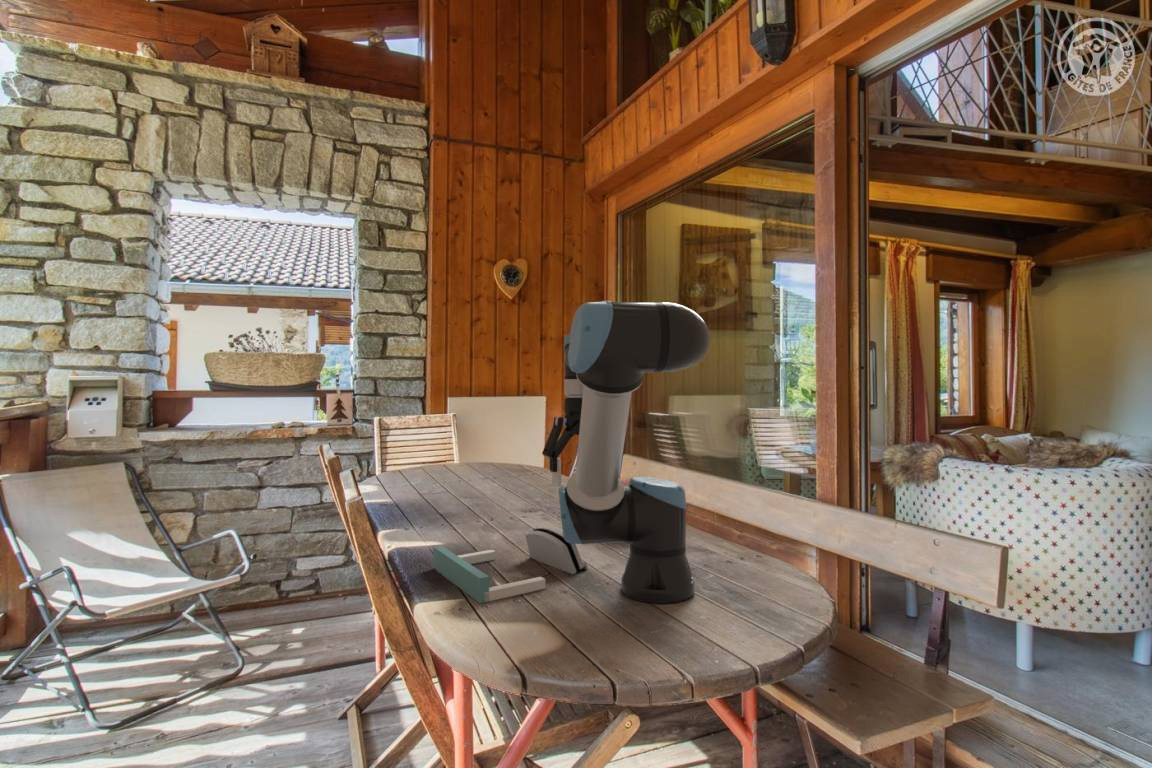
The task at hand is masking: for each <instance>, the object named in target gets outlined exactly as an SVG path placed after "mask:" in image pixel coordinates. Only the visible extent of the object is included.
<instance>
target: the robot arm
mask: <svg viewBox="0 0 1152 768" xmlns="http://www.w3.org/2000/svg"><path fill="white" fill-rule="evenodd" d="M563 343H564V344H563V352H564V355H563V357H564V359H563V360H564V363H563V364H564V377H563V379H564V384H563V385H564V388H563V389H564V396H566V397H565V398H564V399H563V400H564V401H563V404H564V405H563V406H564V407H563V408H564V414H565V415H564V417H562V416H555V417H553V426H552V427H551V430H550V433H549V435H548V438H547V440H546V443H545V446H544V447H543V450H542V456H544V457H547V458H549V471H550V473H551V472H552V475H551V477H552V478H551V479H552V486H556V487H558V499H559V509H560V517H561V518H560V519H561V526H562V527H561V528H562V532H563V537H564V539H565V541H566V542H568V543H571V544H576V545H593V544H596V545H597V544H614V543H615V544H616V543H618V544H619V543H629V553H628V554H629V555H628V556H627V560H626V564H625V569H624V573H623V574H622V576H621V582H620V583H621V585H620V586H621V591H622V594H624V595H626V596H627V597H628V596H629V598H630V597H631V599H633V598H634V599H633V600H637V601H639V600H640V602H644V603H650V602H651V603H652V604H669V603H668V602H675V603H678V602H677V601H680V602H683V601H682V600H684V601H686V600H685V599H687V598H689V599H691V598H692V597H693V596H694V595H695V581H694V579H695V578H694V577H693V576H692V572H691V568H690V564H689V561H688V558H687V553H686V551H687V550H686V548H687V547H686V546H687V544H686V543H687V539H686V537H687V530H686V529H687V509H688V507H687V499H686V491H685V488H684V487H683V486H682V485H681V484H679V483H677V482H674V481H671V480H666V479H662V478H655V477H648V476H633V477H631V478H629V479H630V481H629V484H630V485H623V483H622V482H623V481H622V480H621V479H620V473H621V467H622V459H623V454H624V448H625V441H626V433H627V428H628V427H627V426H628V421H629V415H630V414H629V413H630V407H631V400H632V396H633V395H632V393H633V392H635V391H636V390H638V389H639V388H640V387H641V386H642V384H643V382H644V381H643V380H644V374H645V373H669V372H670V373H671V372H676V371H677V372H678V371H683V370H686V369H689V368H691V367H694V366H695V365H697V364H699V363H700V362H701V361H702V360H703V359H704V358H705V357H706V355H707V353H708V351H709V349H710V346H711V345H710V344H711V335H710V330H709V327H708V325H707V323H706V321H704V319H703V318H702V317H701V316H700V315H699V314H698V313H697V312H695V311H694V310H693V309H690V308H688V307H686V306H685V305H682V304H678V303H675V302H666V301H665V302H664V301H663V302H661V301H660V302H633V301H632V302H631V301H630V302H629V301H626V302H625V301H610V300H602V301H593V302H591V301H588V302H585V303H583V304H581V305H580V306H579V307H578V308H577V309H576V312H575V314H574V316H573V319H572V324H571V328H570V333H569V334H566V335H565V336H564V342H563ZM564 426H565V427H564ZM561 433H562V434H561ZM574 436H578V442H577V443H578V445H577V455H576V462H575V463H576V465H575V472H573V474H571V475H570V477H569V478H568V480H567V482H566V485H563V486H562V458H559V457H560V455H561V454H562V452H563V451H564V450H565V448H566V446H567V445H568V443H569V442H570V441H571V438H572V437H574ZM693 594H694V595H693ZM692 595H693V596H692ZM691 596H692V597H691ZM690 597H691V598H690ZM687 600H688V599H687ZM651 603H650V604H651Z"/></svg>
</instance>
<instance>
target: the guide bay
mask: <svg viewBox="0 0 1152 768" xmlns="http://www.w3.org/2000/svg"><path fill="white" fill-rule="evenodd" d="M432 551H433V552H432V553H433V554H432V555H433V563H432V565H433V569H434V568H435V569H436V570H437V571H436V570H435V569H434V570H435V571H436V572H437V573H439V574H440V573H441V574H440V575H442V576H443V577H444V578H446V579H447V580H448V581H449V582H451V583H452V584H454V585H455V586H456V587H457V588H459V589H460V590H461V591H463V592H464V593H465V594H467V595H468V596H469V597H471V598H472V599H473V600H475V601H476V602H477V603H478V604H483V603H489V602H492V601H497V600H501V599H506V598H510V597H515V596H519V595H523V594H527V593H532V592H537V591H542V590H545V589H546V578H544V577H542V576H537V577H533V578H528V579H523V580H518V581H513V582H509V583H505V584H503V583H502V584H499V585H496V586H494V585H493V586H491V587H490V576H489V575H488V574H487V573H484V572H483V571H481V570H480V569H478V568H477V567H475V566H474V565H475V564H480V563H484V562H485V561H486V562H491V561H495V560H496V551H495V550H493V549H487V550H482V551H476V552H471V553H464V554H458V555H456V553H454V552H452V551H451V550H449V549H447V548H446V547H445V546H442V545H437V546H434V547H433V550H432Z"/></svg>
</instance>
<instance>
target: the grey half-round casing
mask: <svg viewBox="0 0 1152 768" xmlns="http://www.w3.org/2000/svg"><path fill="white" fill-rule="evenodd" d="M525 540H526V544H527V547H528V553H529V557H530V558H531V559H532V560H535V561H537V562H540V563H543V564H546V565H548V566H551V567H553V568H555V569H558V570H560V569H561V570H560V571H563V572H565V571H566V572H565V573H568V574H570V573H571V574H570V575H575V574H577V571H578V570H582V569H583V570H585V569H586V570H585V571H588V570H589V568H588V564H587V562H586V561H583V560H582V558H581V555H580V553H579V550H578V547H577V544H571V543H568V542H566V541H565V539H564V537H563V531H561V530H559V529H556V528H554V527H549V526H538V527H535V528H533V530H531V531H528V533H526V534H525Z"/></svg>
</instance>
